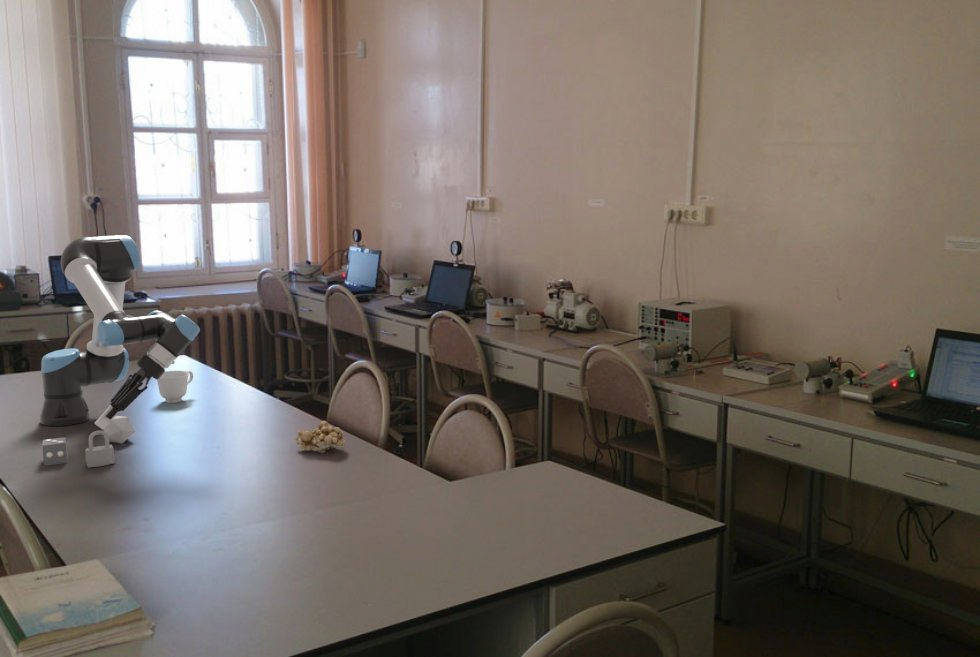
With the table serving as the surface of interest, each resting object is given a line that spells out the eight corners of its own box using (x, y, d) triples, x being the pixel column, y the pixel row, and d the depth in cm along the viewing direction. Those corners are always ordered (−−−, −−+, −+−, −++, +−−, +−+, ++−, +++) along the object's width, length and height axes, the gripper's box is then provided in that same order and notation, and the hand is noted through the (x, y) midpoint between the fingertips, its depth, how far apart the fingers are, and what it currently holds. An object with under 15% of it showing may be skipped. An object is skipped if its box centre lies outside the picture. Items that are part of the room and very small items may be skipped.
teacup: (204, 398, 334) (203, 371, 332) (171, 406, 322) (169, 379, 320) (182, 393, 341) (181, 367, 339) (149, 402, 328) (147, 375, 326)
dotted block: (44, 459, 263) (42, 439, 262) (67, 457, 266) (65, 436, 265) (44, 466, 258) (42, 445, 257) (67, 463, 260) (65, 442, 259)
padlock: (112, 460, 262) (110, 426, 260) (115, 464, 259) (112, 430, 257) (86, 464, 259) (83, 430, 257) (88, 468, 255) (85, 434, 253)
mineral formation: (328, 440, 281) (358, 447, 271) (293, 456, 272) (322, 464, 262) (323, 416, 279) (352, 422, 269) (287, 432, 270) (316, 439, 260)
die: (141, 441, 283) (133, 413, 286) (128, 435, 275) (121, 406, 278) (116, 451, 282) (109, 423, 286) (102, 445, 274) (95, 416, 278)
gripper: (172, 373, 260) (114, 439, 253) (159, 366, 271) (104, 429, 264) (151, 357, 256) (92, 423, 249) (140, 350, 267) (83, 413, 260)
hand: (98, 426), depth 257 cm, fingers closed
